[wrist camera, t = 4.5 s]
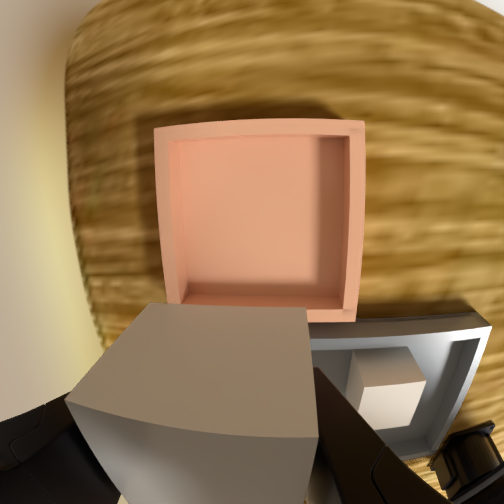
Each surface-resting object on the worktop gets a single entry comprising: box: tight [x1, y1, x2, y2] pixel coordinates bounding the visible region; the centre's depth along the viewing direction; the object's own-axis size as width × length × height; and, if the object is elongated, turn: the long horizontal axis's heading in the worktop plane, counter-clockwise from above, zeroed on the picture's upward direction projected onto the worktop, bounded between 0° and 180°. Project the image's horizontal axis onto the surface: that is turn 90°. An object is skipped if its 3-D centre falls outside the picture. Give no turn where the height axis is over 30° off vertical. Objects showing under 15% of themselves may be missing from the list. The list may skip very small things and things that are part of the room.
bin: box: [308, 311, 492, 461], centre depth 19 cm, size 16×14×2 cm
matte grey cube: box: [64, 302, 319, 504], centre depth 6 cm, size 4×4×4 cm
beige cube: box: [345, 346, 426, 430], centre depth 17 cm, size 4×4×4 cm
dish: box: [154, 118, 365, 322], centre depth 17 cm, size 11×11×2 cm
